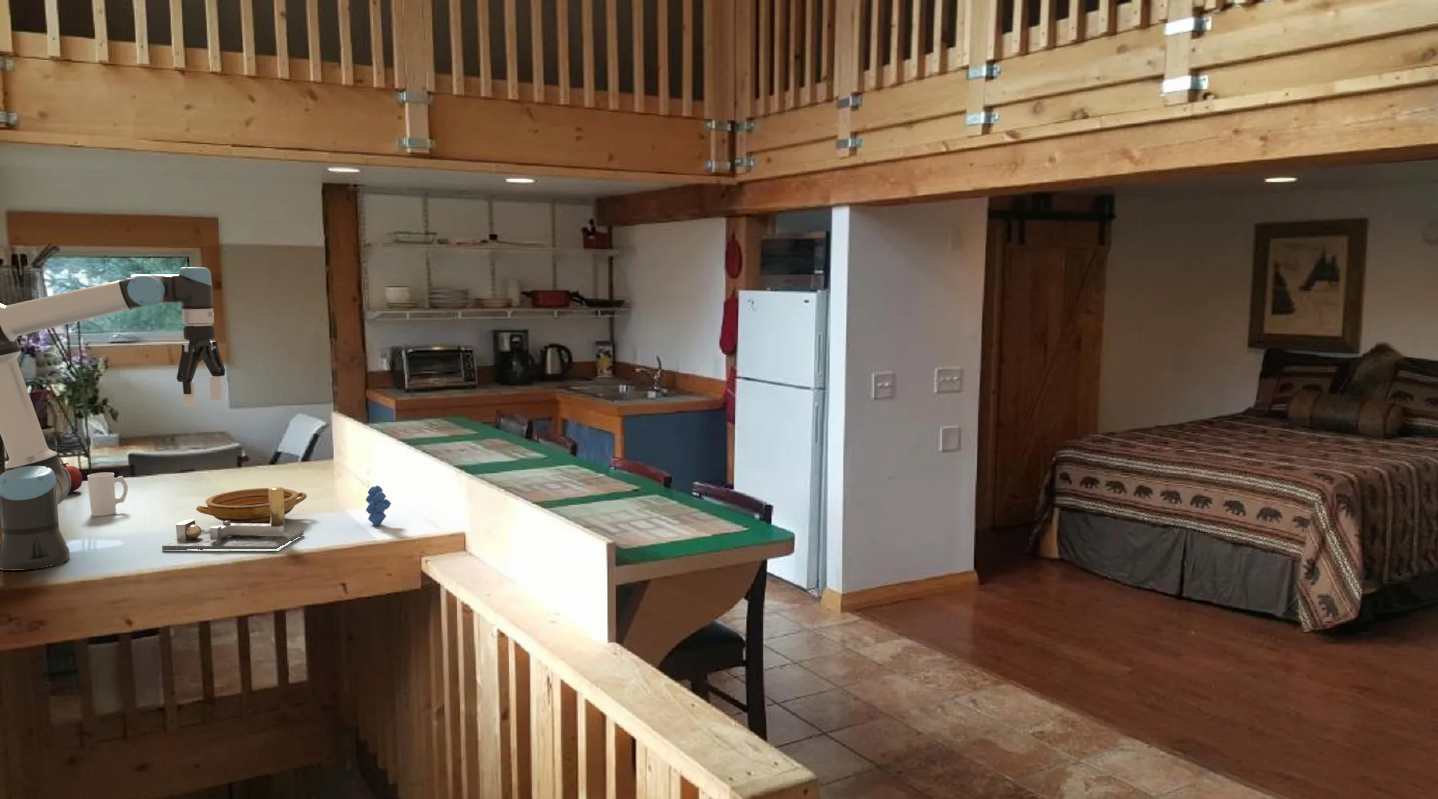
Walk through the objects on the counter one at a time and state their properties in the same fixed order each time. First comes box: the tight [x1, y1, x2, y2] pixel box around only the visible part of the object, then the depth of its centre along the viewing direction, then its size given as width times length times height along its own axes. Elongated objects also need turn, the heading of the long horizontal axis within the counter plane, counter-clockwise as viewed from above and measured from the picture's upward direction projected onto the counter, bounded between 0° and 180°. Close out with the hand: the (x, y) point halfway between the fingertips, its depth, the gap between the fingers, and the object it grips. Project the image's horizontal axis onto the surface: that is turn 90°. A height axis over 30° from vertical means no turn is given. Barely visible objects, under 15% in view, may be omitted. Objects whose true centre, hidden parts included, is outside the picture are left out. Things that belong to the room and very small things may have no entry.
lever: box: [209, 486, 286, 540], centre depth 263 cm, size 8×17×12 cm, turn 88°
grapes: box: [365, 485, 392, 526], centre depth 283 cm, size 12×7×12 cm, turn 38°
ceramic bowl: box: [195, 487, 308, 524], centre depth 285 cm, size 30×24×8 cm
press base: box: [161, 519, 305, 551], centre depth 264 cm, size 16×30×6 cm, turn 89°
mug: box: [86, 472, 129, 517], centre depth 296 cm, size 10×7×12 cm, turn 129°
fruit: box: [61, 462, 83, 493], centre depth 323 cm, size 11×10×10 cm
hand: (203, 403), depth 269 cm, fingers open, 13 cm apart
